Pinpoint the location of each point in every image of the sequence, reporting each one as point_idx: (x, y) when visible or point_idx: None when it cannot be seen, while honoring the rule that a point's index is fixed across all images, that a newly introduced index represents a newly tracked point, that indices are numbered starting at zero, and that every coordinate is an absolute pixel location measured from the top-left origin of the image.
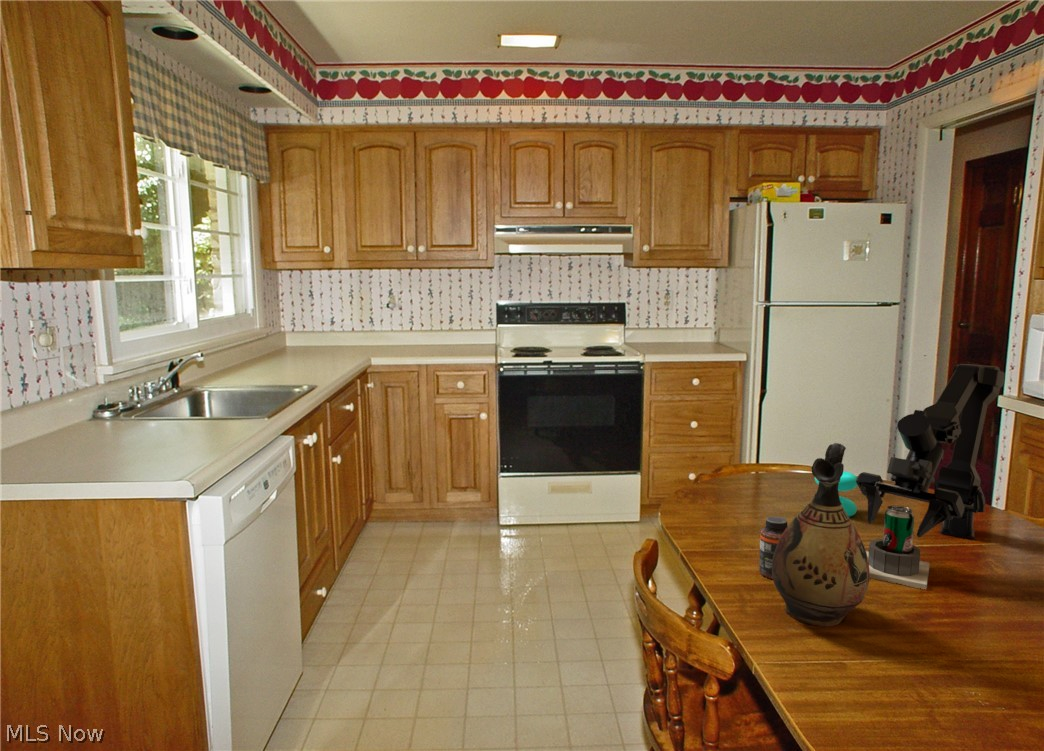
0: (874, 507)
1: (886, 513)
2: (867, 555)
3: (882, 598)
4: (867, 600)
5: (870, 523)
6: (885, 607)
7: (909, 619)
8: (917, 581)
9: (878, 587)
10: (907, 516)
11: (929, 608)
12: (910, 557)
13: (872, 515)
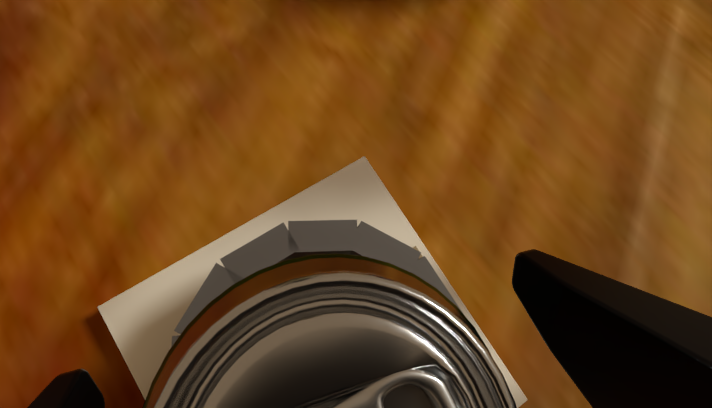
0: (663, 380)
1: (420, 280)
2: None
3: (168, 76)
4: (188, 19)
5: (514, 278)
6: (116, 24)
7: (8, 12)
8: (146, 302)
9: (238, 145)
10: (156, 391)
11: (4, 153)
12: (179, 322)
13: (565, 305)
